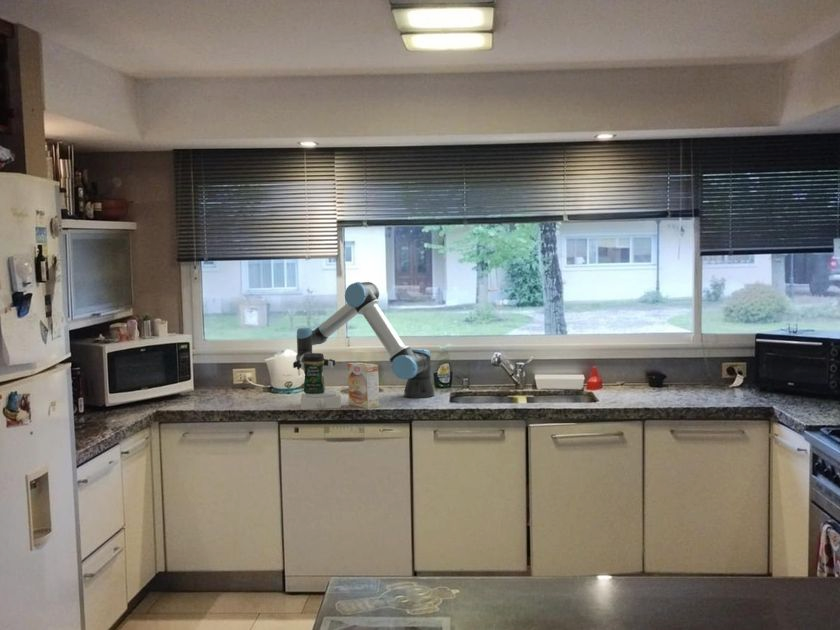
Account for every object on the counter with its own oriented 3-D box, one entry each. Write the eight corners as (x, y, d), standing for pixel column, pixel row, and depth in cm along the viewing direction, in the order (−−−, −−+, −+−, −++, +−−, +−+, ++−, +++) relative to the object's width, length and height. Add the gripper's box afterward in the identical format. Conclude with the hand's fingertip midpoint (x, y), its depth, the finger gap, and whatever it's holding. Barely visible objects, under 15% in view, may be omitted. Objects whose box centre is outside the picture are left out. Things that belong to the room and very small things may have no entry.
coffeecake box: (348, 404, 358) (347, 363, 356) (360, 402, 362) (359, 361, 361) (367, 408, 346) (366, 366, 345) (379, 406, 351) (378, 364, 350)
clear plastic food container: (340, 402, 364) (339, 389, 364) (340, 408, 349) (340, 394, 348) (302, 403, 362) (301, 390, 362) (301, 409, 347) (300, 396, 346)
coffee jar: (302, 394, 352) (301, 354, 351) (306, 391, 360) (305, 352, 358) (322, 394, 351) (321, 354, 350) (326, 391, 359) (325, 352, 357)
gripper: (333, 367, 382) (343, 372, 363) (283, 370, 374) (291, 375, 354) (333, 352, 382) (343, 356, 362) (283, 354, 374) (291, 359, 354)
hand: (317, 365), depth 358 cm, fingers open, 13 cm apart
